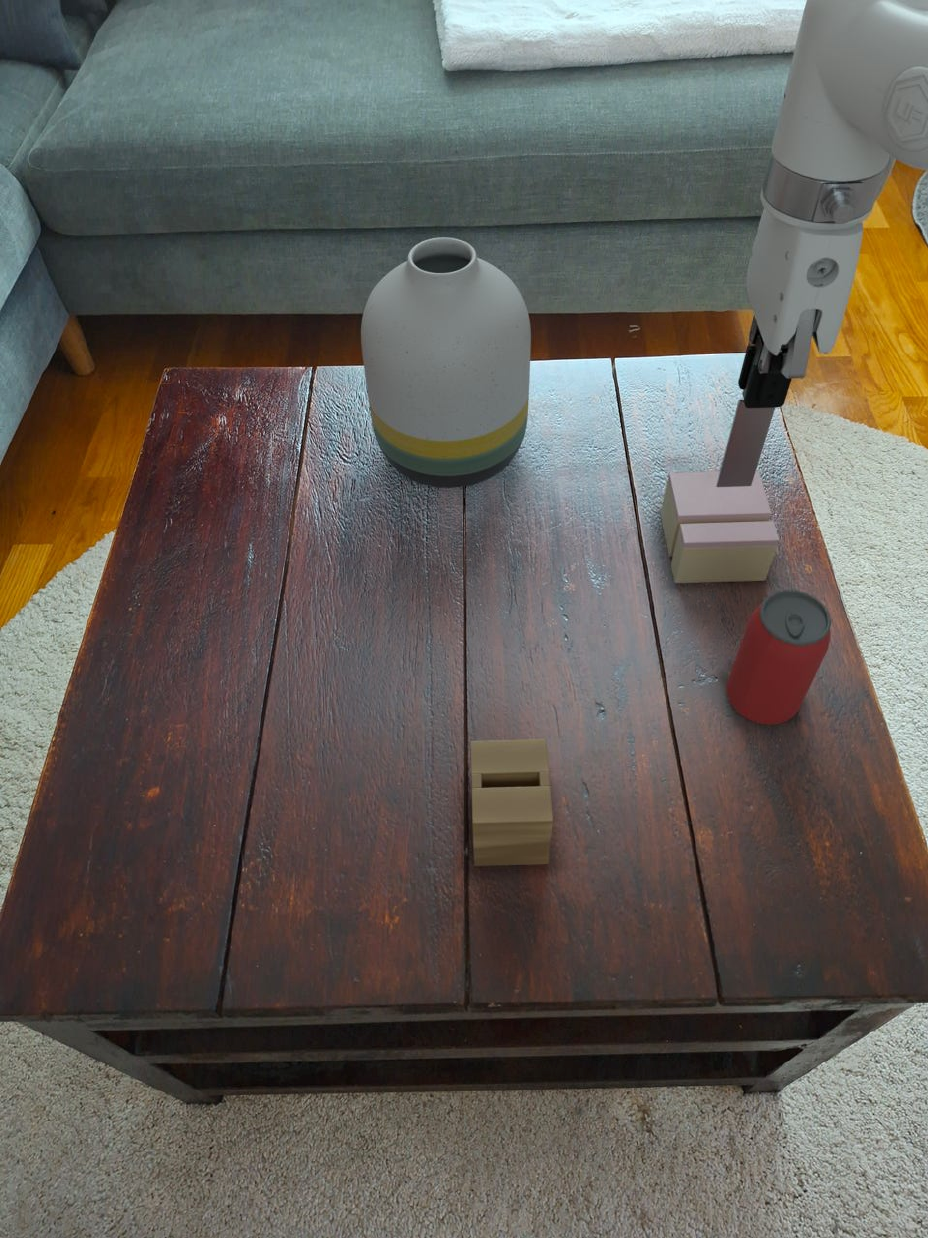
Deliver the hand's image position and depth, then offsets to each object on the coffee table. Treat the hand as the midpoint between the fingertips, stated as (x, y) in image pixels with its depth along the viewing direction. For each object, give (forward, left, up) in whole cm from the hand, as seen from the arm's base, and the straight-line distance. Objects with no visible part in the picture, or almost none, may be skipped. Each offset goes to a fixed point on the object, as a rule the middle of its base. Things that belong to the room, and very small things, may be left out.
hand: (760, 395), depth 78 cm
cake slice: (-2, +1, -21) cm, 21 cm away
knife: (0, 0, -11) cm, 11 cm away
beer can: (-15, +7, -21) cm, 27 cm away
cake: (+3, -2, -21) cm, 21 cm away
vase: (+28, +15, -21) cm, 38 cm away
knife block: (-14, +33, -21) cm, 41 cm away
